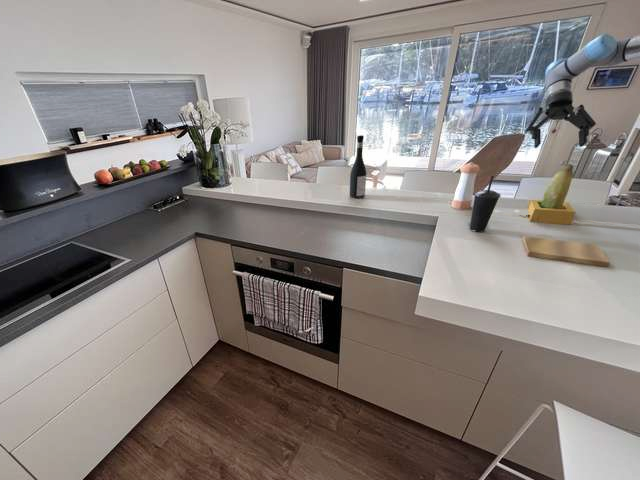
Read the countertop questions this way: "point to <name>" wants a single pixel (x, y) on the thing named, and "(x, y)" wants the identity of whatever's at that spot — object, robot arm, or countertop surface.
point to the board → (565, 251)
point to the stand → (550, 213)
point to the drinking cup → (483, 207)
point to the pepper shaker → (465, 186)
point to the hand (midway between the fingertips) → (559, 145)
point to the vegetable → (558, 188)
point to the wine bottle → (358, 173)
